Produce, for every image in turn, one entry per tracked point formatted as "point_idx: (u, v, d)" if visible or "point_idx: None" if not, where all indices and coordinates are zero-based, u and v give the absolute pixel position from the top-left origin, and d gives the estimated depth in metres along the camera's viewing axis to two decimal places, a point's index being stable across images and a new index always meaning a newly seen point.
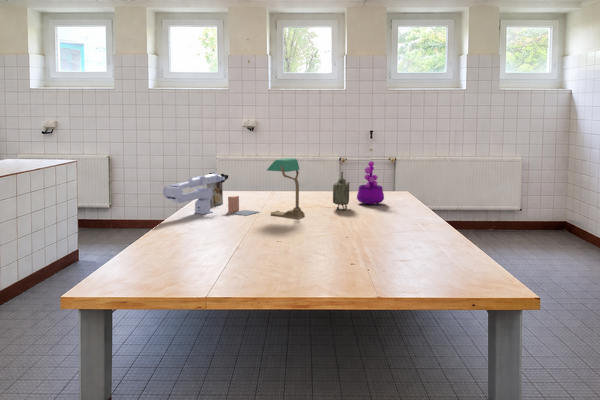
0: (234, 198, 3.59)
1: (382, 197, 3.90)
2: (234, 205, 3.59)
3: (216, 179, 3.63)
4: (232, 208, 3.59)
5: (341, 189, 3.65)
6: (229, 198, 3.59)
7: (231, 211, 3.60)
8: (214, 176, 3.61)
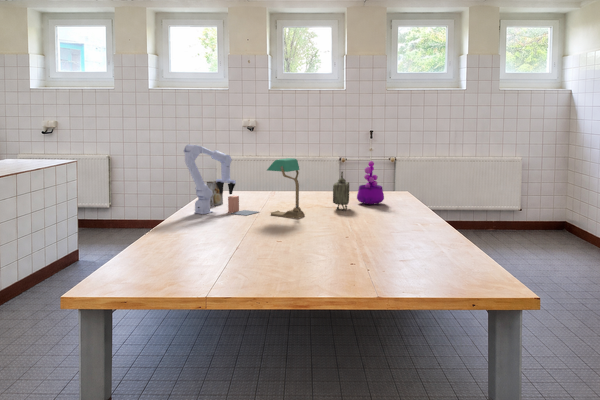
0: (234, 198, 3.59)
1: (382, 197, 3.90)
2: (234, 205, 3.59)
3: (228, 178, 3.65)
4: (232, 208, 3.59)
5: (341, 189, 3.65)
6: (229, 198, 3.59)
7: (231, 211, 3.60)
8: None
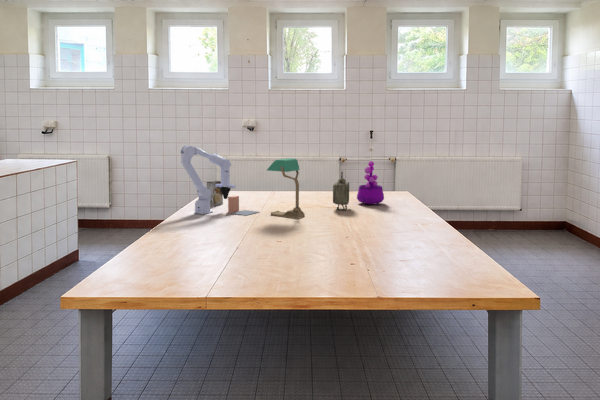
0: (234, 198, 3.59)
1: (382, 197, 3.90)
2: (234, 205, 3.59)
3: (228, 183, 3.61)
4: (232, 208, 3.59)
5: (341, 189, 3.65)
6: (229, 198, 3.59)
7: (231, 211, 3.60)
8: (229, 180, 3.63)
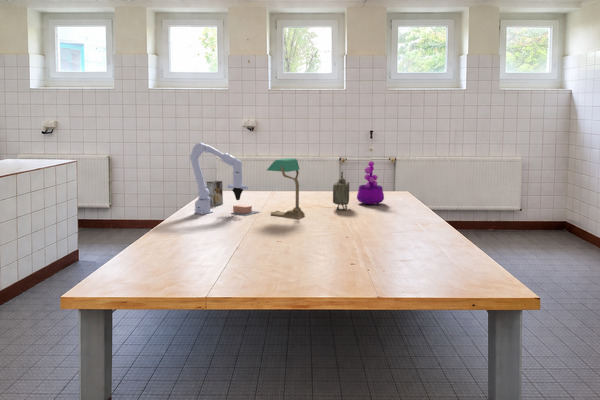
0: None
1: (382, 197, 3.90)
2: None
3: (240, 184, 3.56)
4: (236, 211, 3.58)
5: (341, 189, 3.65)
6: (244, 208, 3.54)
7: (234, 209, 3.58)
8: None
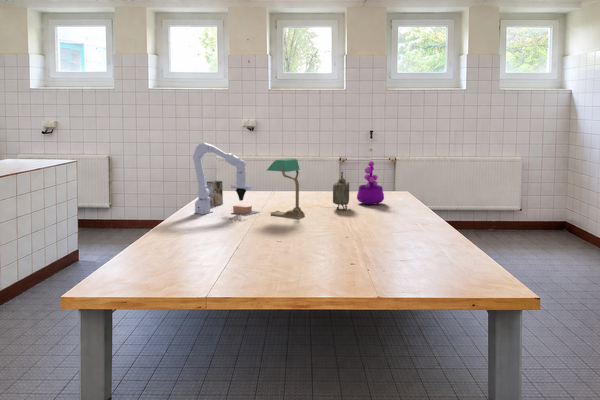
0: None
1: (382, 197, 3.90)
2: None
3: (243, 184, 3.55)
4: (236, 211, 3.58)
5: (341, 189, 3.65)
6: (244, 208, 3.54)
7: (234, 209, 3.58)
8: (245, 182, 3.57)
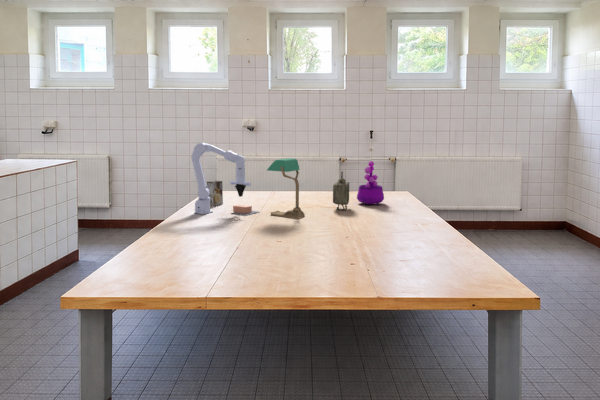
0: None
1: (382, 197, 3.90)
2: None
3: (243, 180, 3.55)
4: (236, 211, 3.58)
5: (341, 189, 3.65)
6: (244, 208, 3.54)
7: (234, 209, 3.58)
8: (244, 178, 3.57)
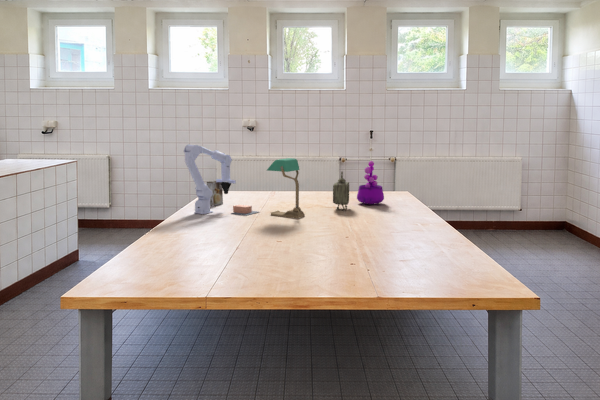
0: None
1: (382, 197, 3.90)
2: None
3: (228, 178, 3.65)
4: (236, 211, 3.58)
5: (341, 189, 3.65)
6: (244, 208, 3.54)
7: (234, 209, 3.58)
8: None
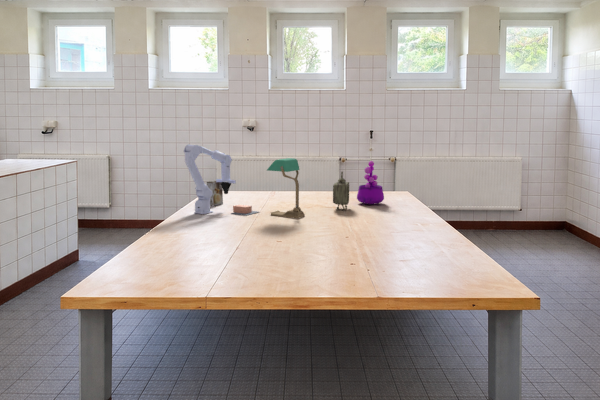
0: None
1: (382, 197, 3.90)
2: None
3: (228, 178, 3.65)
4: (236, 211, 3.58)
5: (341, 189, 3.65)
6: (244, 208, 3.54)
7: (234, 209, 3.58)
8: None
